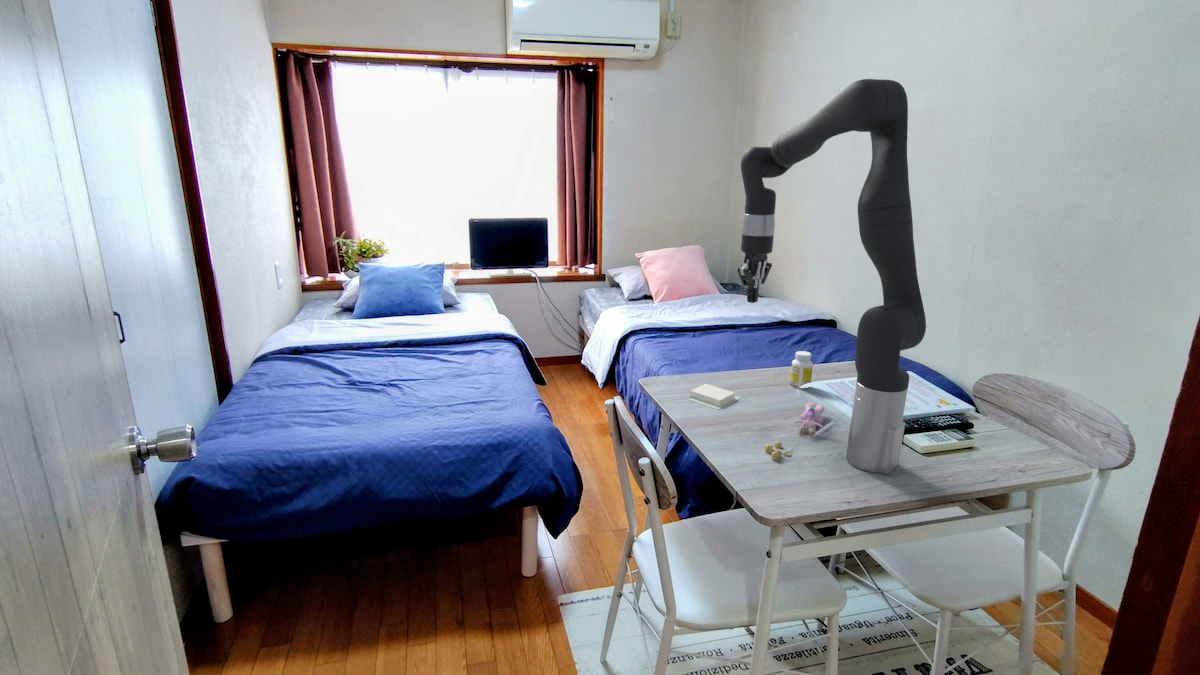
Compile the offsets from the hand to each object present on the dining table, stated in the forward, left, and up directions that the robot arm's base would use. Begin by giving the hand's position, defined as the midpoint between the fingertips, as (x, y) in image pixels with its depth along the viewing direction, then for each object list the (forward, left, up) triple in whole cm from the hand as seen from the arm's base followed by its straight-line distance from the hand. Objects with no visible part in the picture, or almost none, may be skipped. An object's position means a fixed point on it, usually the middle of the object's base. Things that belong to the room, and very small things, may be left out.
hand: (752, 301), depth 151 cm
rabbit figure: (-21, +6, -25) cm, 34 cm away
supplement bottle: (-8, -15, -25) cm, 30 cm away
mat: (0, +7, -25) cm, 26 cm away
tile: (-1, +9, -24) cm, 25 cm away
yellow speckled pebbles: (-22, +24, -26) cm, 42 cm away
